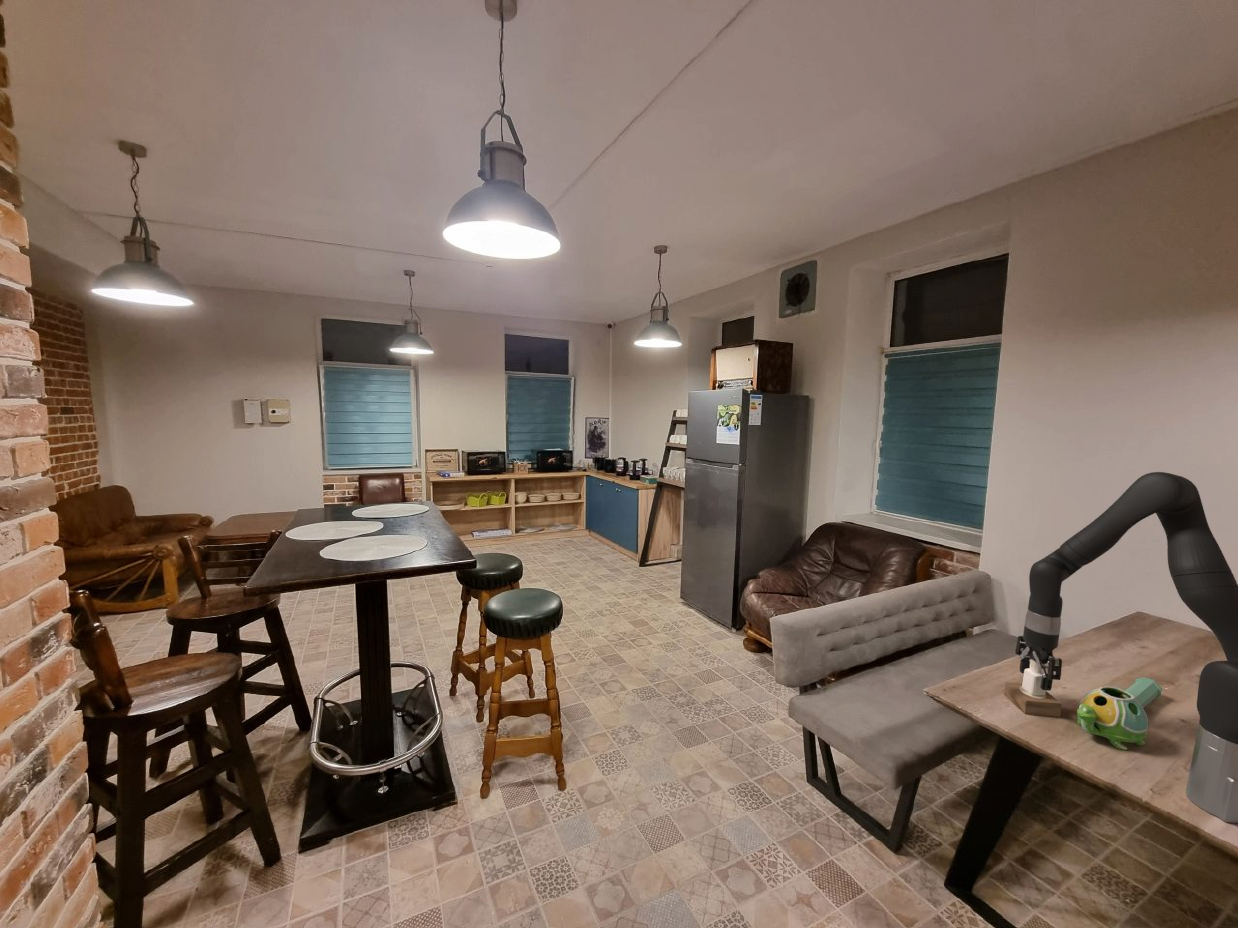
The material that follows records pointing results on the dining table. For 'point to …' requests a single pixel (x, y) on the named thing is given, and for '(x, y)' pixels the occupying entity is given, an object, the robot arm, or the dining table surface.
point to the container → (1144, 690)
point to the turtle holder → (1113, 716)
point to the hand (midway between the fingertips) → (1034, 680)
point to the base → (1032, 701)
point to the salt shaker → (1033, 680)
